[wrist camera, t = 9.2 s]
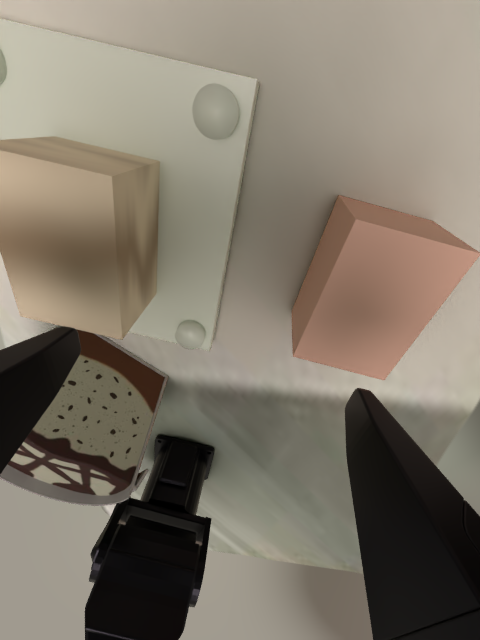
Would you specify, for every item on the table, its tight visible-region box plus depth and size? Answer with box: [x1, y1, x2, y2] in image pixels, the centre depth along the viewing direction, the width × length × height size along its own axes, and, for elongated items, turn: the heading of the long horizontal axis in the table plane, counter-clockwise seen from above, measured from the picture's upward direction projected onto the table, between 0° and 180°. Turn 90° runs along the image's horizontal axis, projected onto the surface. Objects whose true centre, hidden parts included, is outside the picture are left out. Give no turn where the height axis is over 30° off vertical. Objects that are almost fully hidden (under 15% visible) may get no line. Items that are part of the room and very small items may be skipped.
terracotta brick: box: [292, 195, 480, 380], centre depth 16 cm, size 8×6×5 cm
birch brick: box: [0, 136, 160, 340], centre depth 15 cm, size 8×6×5 cm
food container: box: [0, 325, 168, 506], centre depth 22 cm, size 12×6×10 cm, turn 51°
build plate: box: [0, 18, 259, 351], centre depth 17 cm, size 16×14×2 cm
